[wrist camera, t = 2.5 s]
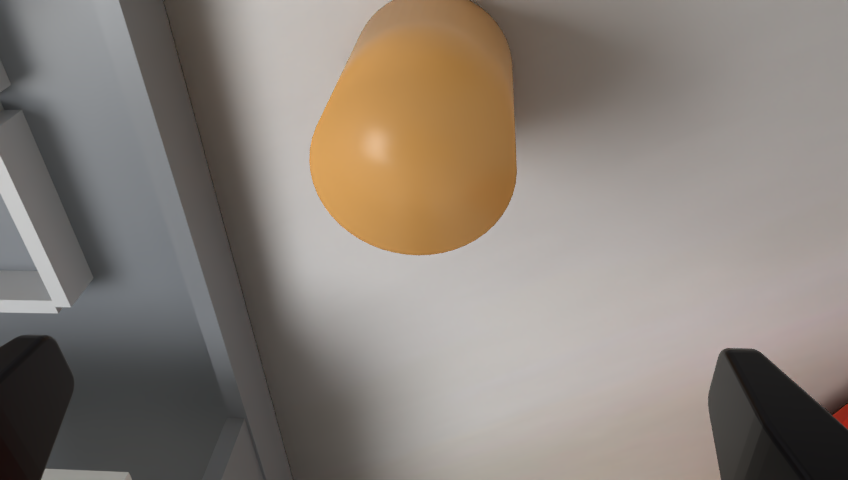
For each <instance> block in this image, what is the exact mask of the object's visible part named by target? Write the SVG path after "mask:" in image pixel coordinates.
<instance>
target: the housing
mask: <svg viewBox="0 0 848 480" xmlns="http://www.w3.org/2000/svg"><path fill="white" fill-rule="evenodd" d="M26 334H32V335H49V336H51V337H53V338H54V339H55V340H56V341H57V343H58V345H59V347H60V349H61V351H62V353H63V355H64V357H65V359H66V361H67V363H68V365H69V367H70V369H71V371H72V373H73V375H74V391H73V395H72V398H71V400H70V403H69V406H68V408H67V411H66V414H65V416H64V419H63V422H62V425H61V427H60V430H59V433H58V435H57V438H56V441H55V443H54V446H53V449H52V452H51V454H50V457H49V460H48V462H47V465H46V468H45V469H65V470H89V471H112V472H129V474H130V476H131V478H132V480H293V478H292V474H291V471H290V467H289V463H288V460H287V456H286V452H285V449H284V445H283V441H282V438H281V434H280V430H279V426H278V423H277V419H276V415H275V412H274V408H273V404H272V401H271V397H270V393H269V390H268V386H267V382H266V379H265V375H264V371H263V367H262V364H261V360H260V356H259V353H258V349H257V345H256V342H255V338H254V334H253V331H252V327H251V323H250V320H249V316H248V312H247V309H246V305H245V301H244V297H243V294H242V290H241V286H240V283H239V279H238V275H237V272H236V268H235V264H234V261H233V257H232V253H231V250H230V246H229V242H228V238H227V235H226V231H225V227H224V224H223V220H222V216H221V213H220V209H219V205H218V202H217V198H216V194H215V191H214V187H213V183H212V179H211V176H210V172H209V168H208V165H207V161H206V157H205V154H204V150H203V146H202V143H201V139H200V135H199V132H198V128H197V124H196V121H195V117H194V113H193V109H192V106H191V102H190V98H189V95H188V91H187V87H186V84H185V80H184V76H183V73H182V69H181V65H180V62H179V58H178V54H177V50H176V47H175V43H174V39H173V36H172V32H171V28H170V25H169V21H168V17H167V14H166V10H165V6H164V3H163V0H0V347H1V346H2V345H4V344H6V343H7V342H9V341H11V340H12V339H14V338H16V337H18V336H20V335H26Z"/></svg>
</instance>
